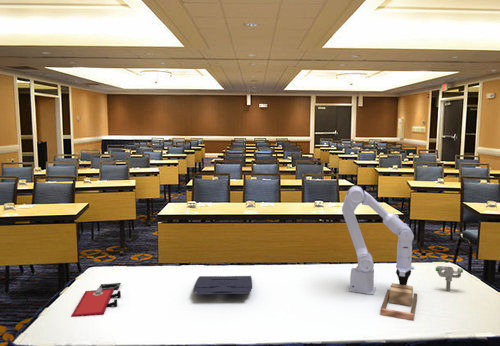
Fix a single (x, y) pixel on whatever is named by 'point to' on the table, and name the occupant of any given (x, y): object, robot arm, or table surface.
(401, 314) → the bay
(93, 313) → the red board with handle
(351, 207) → the robot arm
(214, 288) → the dark grey flat slab
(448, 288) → the mechanical component
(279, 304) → the table surface
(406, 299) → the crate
